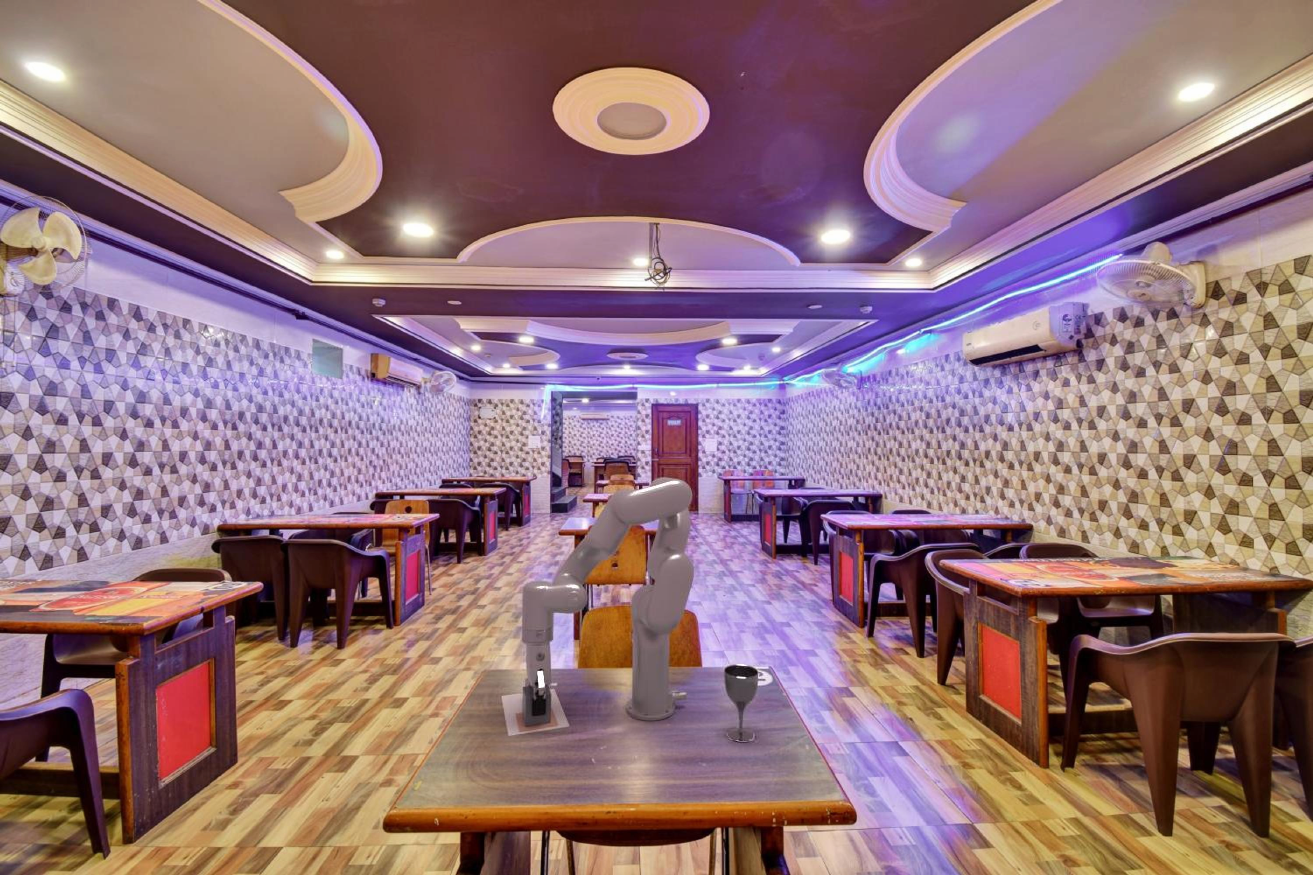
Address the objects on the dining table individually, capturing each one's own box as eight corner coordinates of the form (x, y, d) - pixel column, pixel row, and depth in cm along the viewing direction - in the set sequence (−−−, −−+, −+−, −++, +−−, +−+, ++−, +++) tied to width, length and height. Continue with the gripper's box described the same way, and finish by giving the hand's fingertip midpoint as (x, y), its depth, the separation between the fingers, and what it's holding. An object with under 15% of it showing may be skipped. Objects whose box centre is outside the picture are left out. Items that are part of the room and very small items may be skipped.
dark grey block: (550, 722, 132) (551, 693, 132) (525, 726, 130) (525, 696, 130) (546, 711, 138) (547, 682, 138) (522, 714, 136) (522, 686, 136)
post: (535, 697, 146) (536, 676, 147) (537, 702, 144) (537, 680, 144) (524, 699, 145) (524, 677, 146) (525, 704, 143) (525, 682, 143)
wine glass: (764, 734, 131) (764, 670, 132) (745, 747, 125) (745, 680, 126) (736, 723, 137) (736, 661, 137) (717, 735, 131) (717, 670, 131)
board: (554, 694, 152) (554, 687, 152) (569, 732, 131) (569, 724, 131) (501, 701, 147) (501, 694, 147) (508, 742, 127) (508, 734, 127)
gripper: (559, 643, 128) (558, 721, 127) (547, 621, 144) (546, 691, 144) (526, 647, 125) (524, 727, 125) (518, 624, 142) (517, 695, 141)
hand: (536, 707), depth 134 cm, fingers open, 7 cm apart
